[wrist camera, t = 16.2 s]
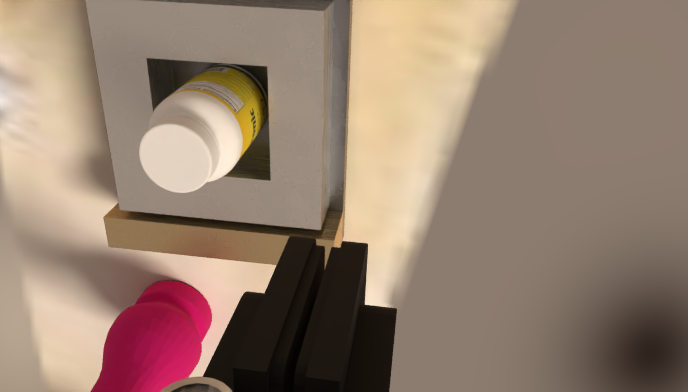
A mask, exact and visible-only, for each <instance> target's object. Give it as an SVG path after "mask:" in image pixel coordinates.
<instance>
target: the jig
mask: <svg viewBox="0 0 688 392" xmlns="http://www.w3.org/2000/svg"><path fill="white" fill-rule="evenodd" d="M352 1H353V0H85V2H86V8H87V14H88V20H89V26H90V32H91V38H92V44H93V50H94V56H95V63H96V69H97V75H98V81H99V87H100V93H101V99H102V105H103V111H104V117H105V123H106V129H107V135H108V141H109V147H110V153H111V159H112V165H113V171H114V177H115V183H116V189H117V195H118V201H119V203H118V204H117V205H116V206H115V207H114V208H112V209H111V210H110V211H109V212H108V213H107V214H106V215H105V216H104V223H105V228H106V234H107V239H108V245H109V247H115V248H124V249H133V250H142V251H152V252H161V253H170V254H180V255H189V256H198V257H207V258H217V259H226V260H235V261H245V262H254V263H263V264H272V265H277V264H278V261H279V259H280V257H281V254H282V252H283V250H284V247H285V245H286V243H287V240H288V238H289V237H290V236H298V237H307V238H315V239H316V245H320V246H324V247H325V267H326V264H327V260H328V257H329V254H330V250H331V248H332V247H339V248H340V245H341V243H342V240H343V236H344V215H345V188H346V162H347V135H348V108H349V81H350V55H351V28H352ZM218 64H231V65H235V66H238V67H241V68H243V69H245V70H246V71H248V72H249V73H251V74H252V75H253V76H254V77H255V78H256V79H257V80H258V81H259V82H260V84H261V85H262V87H263V89H264V91H265V93H266V96H267V100H268V115H267V119H266V122H265V124H264V126H263V127H262V129H261V130H260V132H259V133H258V135H257V136H256V137H255V139H254V140H253V141H252V143H251V144H250V146H249V147H248V148H247V150H246V151H245V152H244V154H243V155H242V156H241V158H240V159H239V161H238V162H237V163H236V165H235V166H234V167H233V168H232V169H231V170H230V171H229V172H228V173H227V174H226V175H224V176H223V177H221V178H219V179H217V180H214V181H210V182H206V183H205V184H204V185H203V186H202V187H200V188H199V189H197V190H195V191H192V192H187V193H177V192H172V191H169V190H166V189H164V188H162V187H160V186H159V185H157V184H156V183H155V182H153V181H152V180H151V179H150V178H149V176H148V175H147V174H146V172H145V171H144V169H143V167H142V165H141V162H140V157H139V146H140V142H141V139H142V137H143V136H144V134H145V133H146V132H147V131H148V125H149V121H150V118H151V116H152V113H153V112H154V110H155V109H156V107H157V106H158V105H159V104H160V103H161V102H162V101H163V100H164V99H166V98H167V97H168V96H170V95H171V94H172V93H174V92H175V91H176V90H178V89H179V88H180V87H182V86H183V85H184V84H186V83H187V82H188V81H189V80H191V79H192V78H193V77H195V76H196V75H197V74H199V73H200V72H201V71H203V70H205V69H206V68H209V67H211V66H214V65H218Z"/></svg>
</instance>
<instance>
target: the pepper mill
mask: <svg viewBox="0 0 688 392" xmlns="http://www.w3.org/2000/svg"><path fill="white" fill-rule="evenodd" d="M211 322H212V313H211V309H210V307H209V305H208V302H207V300H206V299H205V298H204V297H203V296H202V295H201V294H200V293H199V292H198V291H197V290H195V289H194V288H193V287H191V286H188V285H186V284H184V283H182V282H177V281H161V282H157V283H154V284H152V285H151V286H149V287H148V288H147V289H146V290H145V291H144V293H143V294H142V295H141V297H140V298H139V299H138V301H137V302H136V304H135V305H133V306H131V307H129V308H127V309H126V310H124V311H123V312H122V313H121V314H120V315H119V316H118V317H117V318H116V320H115V321H114V323H113V325H112V326H111V328H110V330H109V332H108V335H107V338H106V341H105V344H104V351H103V364H102V370H101V373H100V376H99V379H98V380H97V382H96V384H95V385H94V387H93V389H92V390H91V392H160V391H161V390H162V389H164V388H165V387H167V386H169V385H171V384H172V383H174V382H177V381H180V380H183V379H186V378H188V377H189V376H190V374H191V373H192V371H193V370H194V368H195V367H196V365H197V364H198V362H199V359H200V356H201V352H202V345H201V342H202V341H203V339H204V337H205V335H206V333H207V331H208V330H209V328H210V325H211Z"/></svg>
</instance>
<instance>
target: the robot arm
mask: <svg viewBox="0 0 688 392" xmlns="http://www.w3.org/2000/svg"><path fill="white" fill-rule="evenodd" d="M367 255H368V244H366V243H356V242H347V241H342V243H341V247H340V248H339V247H332V248H331V250H330V254H329V257H328V260H327V264H326V267H325V247H324V246H320V245H316V239H315V238H307V237H298V236H290V237H289V238H288V240H287V243H286V245H285V247H284V250H283V252H282V254H281V257H280V259H279V261H278V264H277V266H276V268H275V271H274V273H273V275H272V277H271V280H270V282H269V284H268V287H267V289H266V291H265V294H264V293H255V292H245V293H244V294H243V296H242V297H241V299H240V301H239V303H238V305H237V307H236V309H235V312H234V314H233V316H232V318H231V320H230V322H229V324H228V326H227V328H226V330H225V332H224V334H223V336H222V338H221V340H220V342H219V344H218V346H217V349H216V351H215V353H214V355H213V357H212V359H211V361H210V363H209V365H208V367H207V369H206V371H205V373H204V375H203V377H192V378H186V379H183V380H180V381H177V382H174V383H172V384H171V385H169V386H167V387H165V388H164V389H162V390H161V391H160V392H389V388H390V377H391V366H392V356H393V344H394V335H395V323H396V313H397V309H396V308H388V307H379V306H370V305H365V288H366V271H367Z"/></svg>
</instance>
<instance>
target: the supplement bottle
mask: <svg viewBox="0 0 688 392" xmlns="http://www.w3.org/2000/svg"><path fill="white" fill-rule="evenodd" d="M267 115H268V100H267V96H266V93H265V91H264V89H263V87H262V85H261V84H260V82H259V81H258V80H257V79H256V78H255V77H254V76H253V75H252V74H251V73H249V72H248V71H246V70H245V69H243V68H241V67H238V66H235V65H231V64H218V65H214V66H211V67H209V68H206V69H205V70H203V71H201V72H200V73H199V74H197V75H196V76H195V77H193V78H192V79H191V80H189V81H188V82H187V83H186V84H184V85H183V86H182V87H180V88H179V89H178V90H176V91H175V92H174V93H172V94H171V95H170V96H168V97H167V98H166V99H164V100H163V101H162V102H161V103H160V104H159V105H158V106H157V107H156V109H155V110H154V112H153V113H152V116H151V118H150V121H149V125H148V131H147V132H146V133H145V134H144V136H143V137H142V139H141V142H140V146H139V157H140V162H141V165H142V167H143V169H144V171H145V172H146V174H147V175H148V176H149V178H150V179H151V180H152V181H153V182H155V183H156V184H157V185H159V186H160V187H162V188H164V189H166V190H169V191H172V192H177V193H187V192H192V191H195V190H197V189H199V188H200V187H202V186H203V185H204V184H205V183H206V182H210V181H214V180H217V179H219V178H221V177H223V176H224V175H226V174H227V173H228V172H229V171H230V170H231V169H232V168H233V167H234V166H235V165H236V163H237V162H238V161H239V159H240V158H241V156H242V155H243V154H244V152H245V151H246V150H247V148H248V147H249V146H250V144H251V143H252V141H253V140H254V139H255V137H256V136H257V135H258V133H259V132H260V130H261V129H262V127H263V126H264V124H265V122H266V119H267Z"/></svg>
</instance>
